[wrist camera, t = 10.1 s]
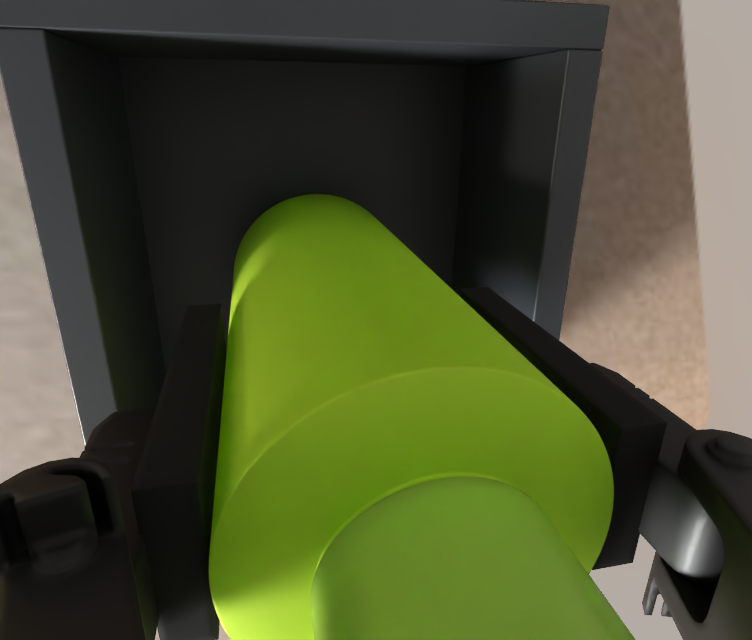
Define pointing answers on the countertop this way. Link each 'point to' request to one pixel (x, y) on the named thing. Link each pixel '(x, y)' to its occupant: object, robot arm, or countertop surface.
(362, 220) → the soap dispenser
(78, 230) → the dark grey open box
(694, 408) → the countertop surface
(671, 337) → the countertop surface
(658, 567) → the robot arm
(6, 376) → the countertop surface
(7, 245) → the countertop surface
